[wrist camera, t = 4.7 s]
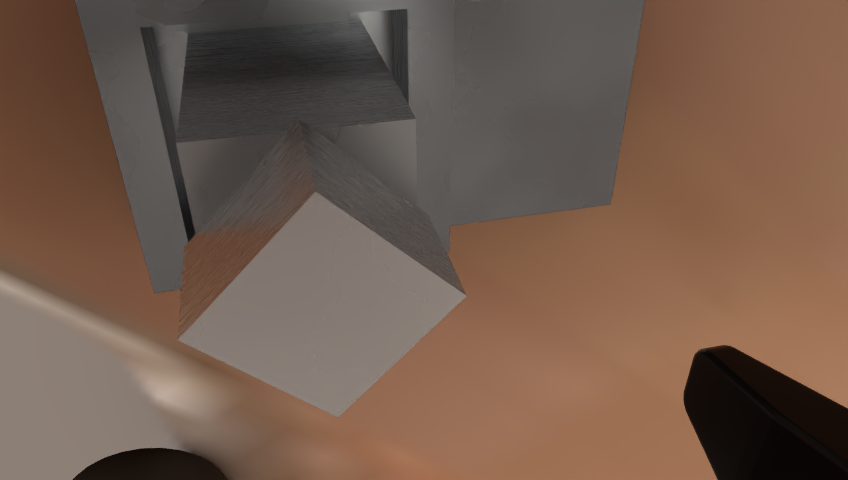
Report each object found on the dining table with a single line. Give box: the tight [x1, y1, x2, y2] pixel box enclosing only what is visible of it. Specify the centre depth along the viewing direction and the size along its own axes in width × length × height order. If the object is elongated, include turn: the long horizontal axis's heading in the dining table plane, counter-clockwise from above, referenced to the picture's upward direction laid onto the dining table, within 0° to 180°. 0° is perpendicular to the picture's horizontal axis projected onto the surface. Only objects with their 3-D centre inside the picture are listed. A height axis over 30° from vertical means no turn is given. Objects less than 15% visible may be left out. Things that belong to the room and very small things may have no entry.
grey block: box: [176, 20, 467, 417], centre depth 14 cm, size 4×4×8 cm
